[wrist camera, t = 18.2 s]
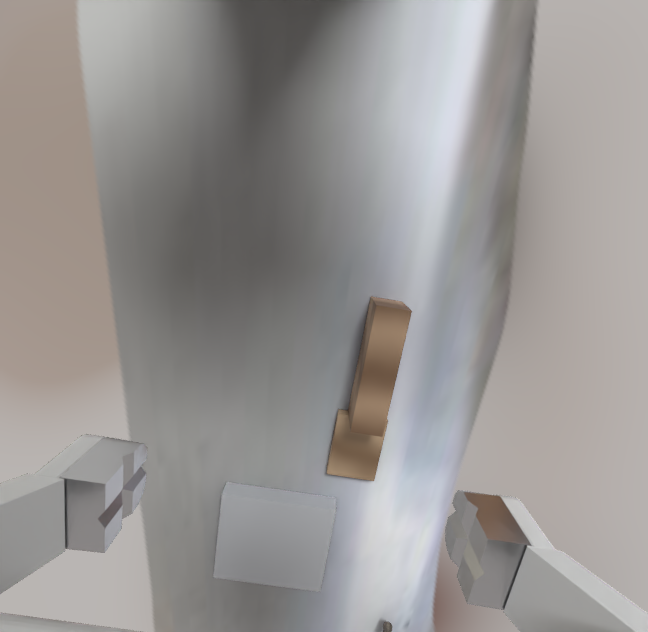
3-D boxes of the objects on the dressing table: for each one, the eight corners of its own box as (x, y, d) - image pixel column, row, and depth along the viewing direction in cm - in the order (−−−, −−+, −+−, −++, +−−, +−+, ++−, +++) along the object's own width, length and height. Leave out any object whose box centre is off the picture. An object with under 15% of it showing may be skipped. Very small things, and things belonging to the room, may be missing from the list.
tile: (221, 493, 37) (213, 577, 39) (336, 510, 37) (320, 592, 40) (227, 479, 39) (218, 560, 42) (336, 495, 39) (320, 574, 42)
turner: (360, 294, 34) (364, 303, 30) (412, 303, 34) (423, 313, 30) (326, 467, 38) (326, 494, 34) (372, 474, 38) (377, 502, 34)
